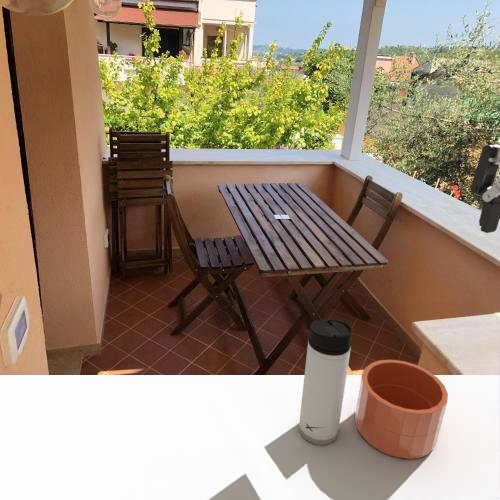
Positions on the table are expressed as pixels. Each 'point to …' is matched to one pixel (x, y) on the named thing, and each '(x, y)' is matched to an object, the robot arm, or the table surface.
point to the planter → (400, 408)
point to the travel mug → (324, 380)
